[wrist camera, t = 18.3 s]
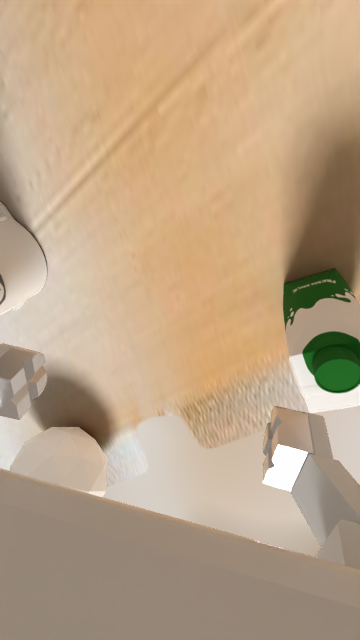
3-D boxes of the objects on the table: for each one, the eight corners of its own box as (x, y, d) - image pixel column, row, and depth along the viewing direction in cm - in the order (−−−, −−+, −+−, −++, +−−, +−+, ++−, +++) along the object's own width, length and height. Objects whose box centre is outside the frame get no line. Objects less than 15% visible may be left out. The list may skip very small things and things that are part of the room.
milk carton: (341, 259, 44) (390, 343, 27) (355, 316, 47) (405, 422, 30) (275, 280, 47) (281, 366, 30) (292, 331, 51) (307, 435, 34)
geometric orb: (105, 407, 79) (126, 462, 61) (91, 480, 83) (106, 551, 65) (17, 407, 71) (11, 470, 53) (5, 487, 74) (-3, 570, 57)
